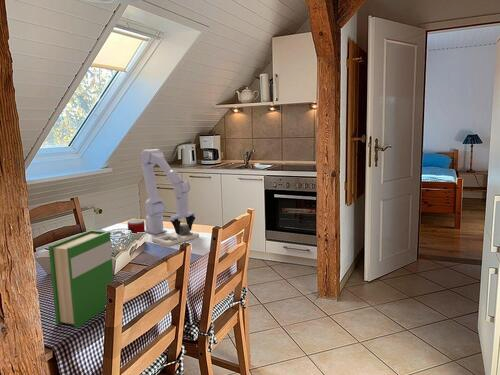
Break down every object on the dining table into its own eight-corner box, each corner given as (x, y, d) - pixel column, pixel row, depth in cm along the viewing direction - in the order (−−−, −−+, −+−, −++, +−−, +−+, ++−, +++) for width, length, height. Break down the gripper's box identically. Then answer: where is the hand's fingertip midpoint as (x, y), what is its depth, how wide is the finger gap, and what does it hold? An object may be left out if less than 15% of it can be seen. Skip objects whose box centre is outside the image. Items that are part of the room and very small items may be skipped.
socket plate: (152, 241, 200) (152, 237, 199) (183, 232, 214) (183, 228, 214) (167, 246, 192) (167, 241, 191) (199, 236, 207) (198, 232, 206)
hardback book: (76, 328, 117) (69, 248, 113) (56, 324, 119) (48, 246, 115) (115, 302, 133) (109, 231, 129) (96, 299, 135) (90, 229, 131)
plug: (177, 236, 206) (177, 225, 205) (184, 234, 210) (183, 223, 209) (183, 237, 204) (182, 226, 203) (190, 235, 207) (189, 224, 206)
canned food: (147, 240, 201) (146, 219, 199) (141, 245, 193) (140, 223, 192) (132, 240, 202) (131, 218, 200) (126, 245, 194) (124, 222, 192)
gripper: (176, 209, 196) (177, 236, 198) (198, 204, 207) (199, 230, 209) (167, 207, 201) (168, 233, 203) (189, 202, 211) (190, 227, 214)
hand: (183, 231), depth 206 cm, fingers open, 7 cm apart
